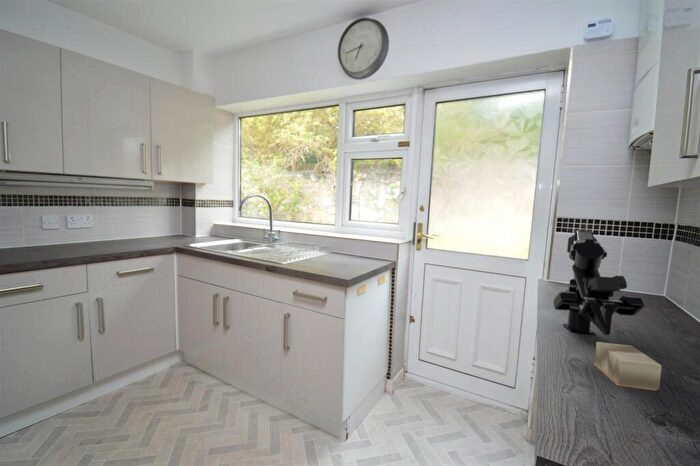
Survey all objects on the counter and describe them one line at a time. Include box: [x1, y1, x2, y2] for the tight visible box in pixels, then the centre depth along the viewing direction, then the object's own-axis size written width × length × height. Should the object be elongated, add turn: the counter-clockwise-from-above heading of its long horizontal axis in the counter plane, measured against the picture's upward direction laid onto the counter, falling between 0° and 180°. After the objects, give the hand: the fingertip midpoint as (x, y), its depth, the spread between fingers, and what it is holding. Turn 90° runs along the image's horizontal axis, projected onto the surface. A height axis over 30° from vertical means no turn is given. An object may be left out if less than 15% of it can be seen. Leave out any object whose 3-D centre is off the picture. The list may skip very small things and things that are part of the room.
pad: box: [593, 362, 658, 392], centre depth 71 cm, size 10×7×1 cm
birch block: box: [594, 341, 662, 390], centre depth 71 cm, size 5×7×10 cm
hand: (607, 334), depth 79 cm, fingers closed
